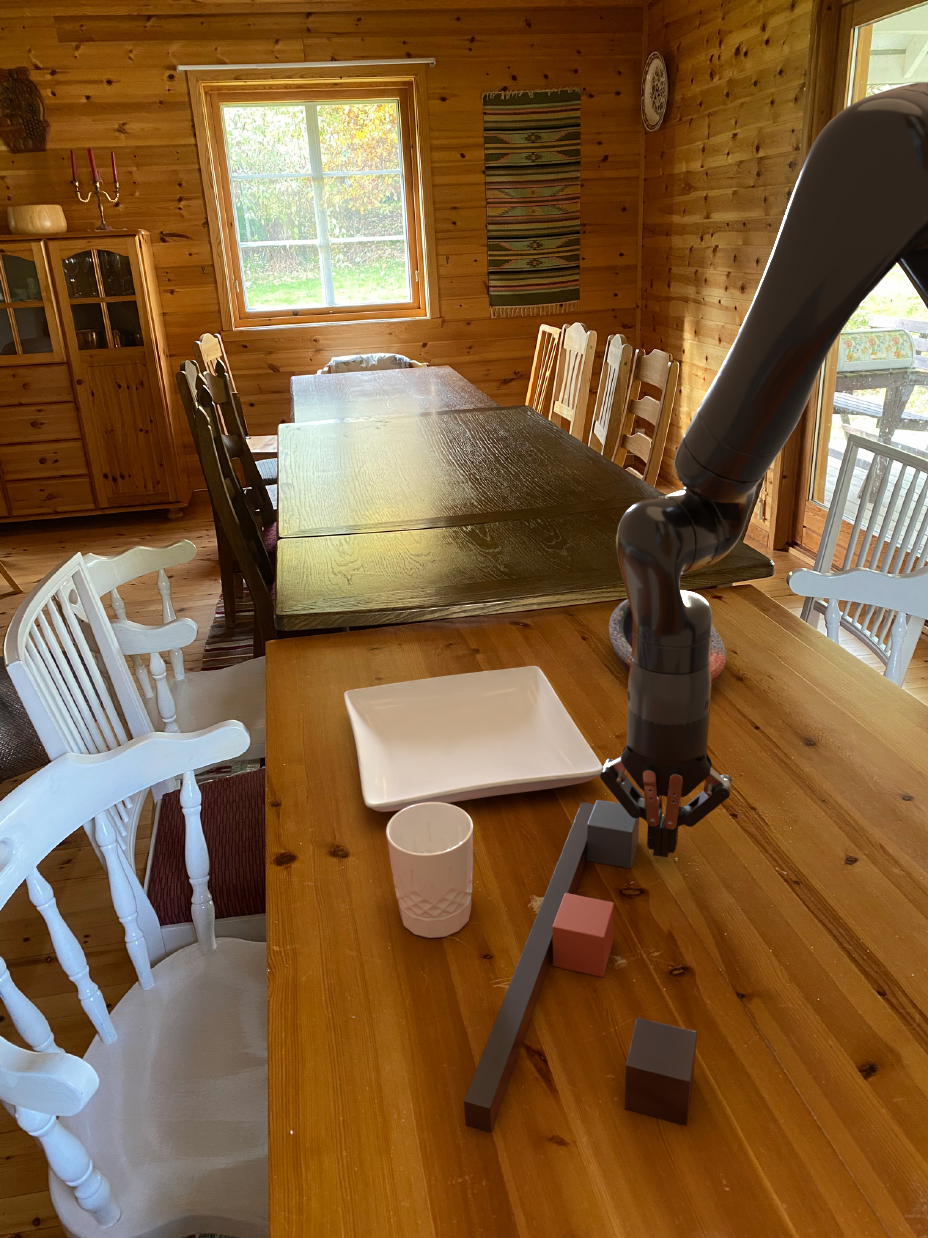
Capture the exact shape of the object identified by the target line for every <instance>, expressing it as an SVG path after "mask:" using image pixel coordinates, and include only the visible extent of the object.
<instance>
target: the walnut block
mask: <svg viewBox="0 0 928 1238" xmlns="http://www.w3.org/2000/svg"><path fill="white" fill-rule="evenodd" d="M697 1041H698V1031H696V1030H692V1029H688V1028H683V1027H679V1026H674V1025H671V1024H666V1023H662V1022H657V1021H653V1020H649V1019H644V1018H640V1017H636V1018H635V1023H634V1026H633V1031H632V1036H631V1041H630V1044H629V1045H630V1046H629V1049H628V1054H627V1058H626V1064H625V1075H624V1076H625V1077H624V1079H625V1081H624V1102H623V1103H624V1107H623V1109H624V1110H627V1111H631V1112H635V1113H638V1114H642V1115H646V1116H648V1117H649V1116H650V1117H653V1118H656V1119H660V1120H665V1121H669V1122H672V1123H676V1124H680V1125H683V1126H687V1125H688V1118H689V1111H690V1104H691V1098H692V1089H693V1083H694V1075H695V1065H696V1051H697Z"/></svg>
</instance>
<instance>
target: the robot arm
mask: <svg viewBox="0 0 928 1238" xmlns="http://www.w3.org/2000/svg"><path fill="white" fill-rule="evenodd" d="M784 214H785V215H784V216H783V220H782V222H781V225H780V229H779V232H778V234H777V237H776V240H775V243H774V245H773V246H774V247H773V249H772V252H771V254H770V257H769V259H768V262H767V265H766V268H765V270H764V272H763V274H762V275H763V276H762V278H761V280H760V282H759V285H758V287H757V290H756V292H755V294H754V297H753V300H752V302H751V304H750V307H749V309H748V312H747V314H746V316H745V317H744V320H743V323H742V325H741V327H740V329H739V331H738V333H737V335H736V337H735V340H734V342H733V344H732V346H731V348H730V350H729V351H728V354H727V356H726V358H725V359H724V361H723V363H722V365H721V367H720V369H719V370H718V373H717V375H715V378H714V379H713V381H712V383H711V385H710V387H709V389H708V391H707V392H706V394H705V396H704V398H703V400H702V401H701V403H700V405H699V406H698V408H697V410H696V412H695V413H694V416H693V418H691V421H690V423H689V425H688V427H687V429H686V430H685V432H684V434H683V436H682V438H681V440H680V442H679V444H678V446H677V449H676V451H675V455H674V460H673V464H674V465H673V467H674V472H675V475H676V477H677V479H678V481H679V482H680V484H681V485H682V486H683V488H681V489H680V490H677V491H673V492H670V493H666V494H662V495H658V496H655V497H650V498H646V499H642V500H640V501H638V502H636V503H634V504H632V505H631V506H630V507H629V508H627V509H626V511H625V512H624V514H623V515H622V516H621V519H620V521H619V524H618V526H617V531H616V536H615V552H616V558H617V561H618V565H619V569H620V572H621V578H622V580H623V584H624V588H625V592H626V593H625V594H626V596H627V599H628V600H629V604H630V608H631V611H632V616H633V635H632V660H631V667H630V672H628V680H627V681H628V682H627V689H626V700H627V720H626V724H627V725H626V745H625V746H624V747H623V749H622V753H621V755H620V756H619V757H617V758H615V759H613V758H607V759H606V760H605V761H604V764H602V766H603V768H602V771H601V774H600V776H599V778H600V780H601V781H602V782H603V784H604V785H605V786H606V787H607V789H608V790H609V791H610V793H611V794H612V795H613V797H614V798H615V799H616V800H617V801H618V803H620V804H621V805H622V806H623V807H624V809H625V810H626V811H627V812H628V814H629V815H630V816H631V817H632V818H639V819H640V818H641V819H642V820H644V821H645V822H646V823H647V837H646V838H647V839H646V840H647V841H646V846H647V848H648V850H651V851H652V853H653V854H652V855H653V856H656V857H661V858H667V859H668V858H669V855H670V854H674V853H675V851H676V849H677V845H678V841H679V840H678V839H679V827H680V826H685V827H688V828H692V827H694V826H696V825H697V824H698V823H699V822H701V821H702V820H703V819H704V818H705V817H707V816H708V815H709V814H711V812H713V811H714V810H715V809H716V808H718V807H719V806H720V805H721V804H723V803H724V802H725V801H726V800H727V799H729V797H730V795H731V788H732V783H733V781H732V777H731V776H729V774H722V775H720V774H719V773H718V772H717V771H716V770H714V769H713V768H712V763H713V762H712V759H711V757H710V756H709V753H708V741H709V725H710V714H711V713H710V711H711V704H712V703H711V700H712V699H711V696H712V695H711V694H712V685H711V671H710V655H711V640H712V625H713V612H712V611H713V610H712V606H711V605H710V603H709V601H708V600H707V599H706V598H705V597H703V596H702V595H700V594H698V593H696V592H693V591H689V590H683V589H681V583H680V582H681V576H682V575H684V574H687V573H690V572H694V571H698V570H700V569H703V568H706V567H710V566H711V565H715V564H716V563H718V562H720V560H721V561H722V559H723V558H724V557H726V556H727V555H728V554H729V553H730V552H731V551H732V550H733V548H734V547H735V546H736V545H737V543H738V541H739V540H740V538H741V536H742V533H743V531H744V529H745V526H746V523H747V520H748V518H749V514H750V511H751V508H752V506H753V502H754V499H755V494H756V491H757V487H758V485H759V483H760V482H761V481H762V479H764V477H765V475H766V473H767V472H768V471H769V469H770V468H771V466H772V465H773V463H774V462H775V460H776V458H777V457H778V455H779V454H780V452H781V451H782V449H783V448H784V446H785V444H786V443H787V441H788V440H789V438H790V437H791V435H792V433H793V432H794V430H795V428H796V427H797V425H798V423H799V421H800V419H801V417H802V415H803V413H804V411H805V409H806V406H807V404H808V402H809V401H810V400H809V399H810V397H811V394H812V392H813V389H814V386H815V384H816V381H817V378H818V376H819V373H820V371H821V368H822V366H823V364H824V362H825V360H826V358H827V356H828V355H829V353H830V351H831V349H832V347H833V346H834V344H835V342H836V340H837V338H838V337H839V336H840V334H841V332H843V330H844V328H845V326H846V325H847V324H848V322H849V321H850V319H851V318H852V316H853V314H855V312H856V311H857V310H858V308H859V307H860V306H861V305H862V304H863V302H864V301H865V300H866V299H867V298H868V297H869V296H870V294H871V293H872V292H873V290H875V288H877V286H878V285H879V284H880V282H882V280H883V279H885V277H886V276H887V275H888V273H889V272H890V271H891V270H892V269H893V268H894V267H895V266H896V265H897V266H898V267H899V268H900V270H901V271H902V272H903V274H904V275H905V277H906V279H907V280H908V282H909V284H910V285H911V286H912V288H913V289H914V291H915V292H916V294H917V296H918V297H919V299H920V300H921V302H922V303H923V306H924V307H925V309H926V311H927V312H928V81H927V82H926V81H925V82H923V81H920V82H914V83H910V84H905V85H901V86H898V87H893V88H891V89H888V90H884V91H879V92H878V93H874V94H872V95H868V96H866V97H863V98H861V99H859V100H858V101H856V102H854V103H851V104H850V105H848V106H846V107H845V108H843V109H842V110H841V111H840V112H838V113H837V115H835V116H833V118H831V119H830V120H829V121H828V123H826V125H825V126H824V127H823V128H822V130H820V132H819V133H818V134H817V135H816V137H815V139H814V141H813V143H812V144H811V146H810V148H809V150H808V153H807V155H806V157H805V159H804V162H803V165H802V167H801V170H800V172H799V175H798V178H797V180H796V182H795V185H794V188H793V190H792V194H791V197H790V200H789V201H788V204H787V209H786V210H785V213H784ZM628 774H629V776H630V777H631V778H632V780H633V781H634V782H635V784H636V785H637V787H636V785H635V784H634V783H633V781H632V780H631V779H630V778H629V776H628ZM703 782H704V784H703V790H702V791H701V792H700V793H698V794H697V795H696V796H695V797H693V799H691V800H690V801H688V802H687V803H686V804H685V805H682V799H683V798H684V797H687V796H689V795H690V794H691V793H692V792H693V791H694V790H695V789H696V788H698V787H699V786H700V784H702V783H703ZM638 788H639V789H640V790H641V791H642V792H643V793H641V792H640V790H639V789H638ZM663 797H665V798H666V803H665V813H664V814H663V807H664V806H663ZM681 805H682V806H681Z"/></svg>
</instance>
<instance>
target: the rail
mask: <svg viewBox="0 0 928 1238" xmlns="http://www.w3.org/2000/svg"><path fill="white" fill-rule="evenodd" d="M594 805H595V803H592V802H591V803H590V802H585V801H584V802H583V801H581V802H580V805H579V808H578V810H577V812H576V815H575V817H574V820H573V823H572V825H571V828H570V829H569V833H568V835H567V838H566V840H565V843H564V845H563V848H562V850H561V853H560V855H559V859H558V861H557V863H556V866H555V868H554V871H553V873H552V876H551V878H550V881H549V883H548V886H547V889H546V891H545V893H544V896H543V898H542V902H541V904H540V907H539V908H538V911H537V914H536V917H535V919H534V922H533V925H532V927H531V929H530V931H529V934H528V937H527V940H526V942H525V945H524V947H523V950H522V952H521V954H520V958H519V960H518V962H517V965H516V968H515V970H514V972H513V975H512V978H511V981H510V982H509V985H508V988H507V990H506V992H505V995H504V998H503V1000H502V1003H501V1005H500V1008H499V1011H498V1013H497V1015H496V1018H495V1021H494V1023H493V1026H492V1027H491V1028H492V1029H491V1031H490V1033H489V1035H488V1039H487V1041H486V1044H485V1046H484V1049H483V1051H482V1054H481V1056H480V1059H479V1061H478V1064H477V1066H476V1069H475V1071H474V1074H473V1076H472V1079H471V1081H470V1084H469V1087H468V1089H467V1092H466V1094H465V1097H464V1100H463V1108H464V1122H465V1123H464V1124H465V1126H468V1127H472V1128H476V1129H479V1130H482V1131H486V1132H489V1133H492V1131H493V1129H494V1126H495V1122H496V1120H497V1117H498V1114H499V1111H500V1108H501V1105H502V1103H503V1100H504V1097H505V1094H506V1091H507V1089H508V1085H509V1083H510V1079H511V1077H512V1074H513V1071H514V1069H515V1065H516V1063H517V1060H518V1057H519V1055H520V1052H521V1048H522V1046H523V1044H524V1040H525V1037H526V1034H527V1031H528V1029H529V1026H530V1023H531V1020H532V1018H533V1014H534V1012H535V1008H536V1007H537V1006H536V1005H537V1003H538V1000H539V997H540V995H541V992H542V988H543V986H544V983H545V980H546V978H547V974H548V972H549V969H550V966H551V963H552V961H553V924H554V921H555V919H556V916H557V913H558V910H559V908H560V905H561V902H562V900H563V897H564V894H565V893H568V894H573V895H576V892H577V889H578V886H579V883H580V881H581V877H582V875H583V872H584V870H585V866H586V864H587V862H588V861H587V824H588V821H589V819H590V816H591V813H592V811H593V808H594Z"/></svg>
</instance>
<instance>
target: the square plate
mask: <svg viewBox="0 0 928 1238" xmlns="http://www.w3.org/2000/svg"><path fill="white" fill-rule="evenodd" d="M343 700H344V705H345V709H346V711H347V715H348V718H349V721H350V726H351V729H352V734H353V737H354V738H353V739H354V742H355V749H356V754H357V761H358V762H357V763H358V770H359V776H360V777H359V778H360V786H361V787H360V788H361V793H362V799H363V802H364V805H365V806H366V807H367V808H369V809H372V810H373V811H377V812H383V813H385V812H386V813H388V812H396V811H401V810H403V809H405V808H407V807H410V806H412V805H416V804H420V803H427V802H440V803H447V804H451V803H457V802H463V801H469V800H475V799H481V798H488V797H495V796H496V797H497V796H503V795H511V794H520V793H527V792H534V791H536V792H537V791H542V790H549V789H557V788H561V787H562V788H563V787H568V786H573V785H578V784H583V783H587V782H589V781H592V780H594V779H596V778H598V777H600V774H601V771H602V768H603V764H602V763H601V761H600V759H599V758H598V756H597V755H596V753H595V752H594V750H593V749H592V747H591V746H590V745H589V743H588V741H587V740H586V738H585V737H584V736H583V734H582V732H581V731H580V729H579V728H578V726H577V725H576V723H575V721H574V720H573V718H572V716H571V715H570V714H569V712H568V711H567V709H566V707H565V706H564V704H563V702H562V701H561V699H560V698H559V696H558V694H557V693H556V691H555V689H554V688H553V686H552V684H551V683H550V681H549V680H548V678H547V676H546V675H545V674H544V672H543V670H541V668H540V667H539V666H536V665H529V666H522V667H521V666H520V667H513V668H504V669H495V670H494V669H493V670H485V671H477V672H468V673H459V674H451V675H445V676H443V675H442V676H438V677H437V676H436V677H429V678H422V679H415V680H407V681H402V682H394V683H389V684H382V685H376V686H369V687H363V688H356V689H351V690H350V689H349V690H346V691H345V692H344V693H343Z"/></svg>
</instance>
